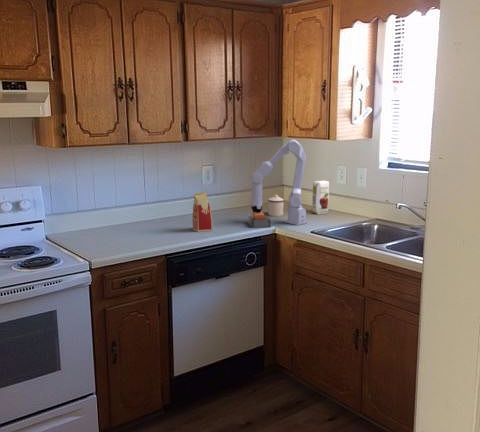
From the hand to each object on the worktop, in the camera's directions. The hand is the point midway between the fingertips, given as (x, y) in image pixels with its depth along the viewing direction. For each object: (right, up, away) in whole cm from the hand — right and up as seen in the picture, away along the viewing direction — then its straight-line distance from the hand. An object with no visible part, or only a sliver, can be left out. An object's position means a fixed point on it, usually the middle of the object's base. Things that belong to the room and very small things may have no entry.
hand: (256, 219), depth 285 cm
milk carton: (-28, -5, -17) cm, 33 cm away
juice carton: (+38, +3, +25) cm, 46 cm away
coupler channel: (+1, -3, -7) cm, 8 cm away
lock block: (+1, -3, -5) cm, 6 cm away
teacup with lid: (+11, +3, +22) cm, 25 cm away
